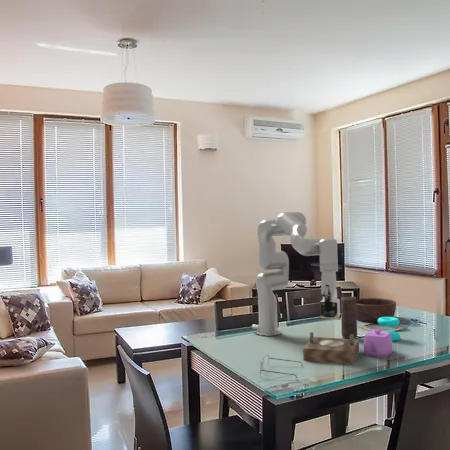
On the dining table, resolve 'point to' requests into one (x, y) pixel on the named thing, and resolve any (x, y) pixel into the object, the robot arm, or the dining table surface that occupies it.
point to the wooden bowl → (374, 309)
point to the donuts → (390, 323)
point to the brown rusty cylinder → (348, 317)
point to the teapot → (378, 343)
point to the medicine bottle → (335, 307)
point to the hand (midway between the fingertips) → (330, 309)
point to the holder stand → (331, 349)
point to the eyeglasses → (273, 371)
